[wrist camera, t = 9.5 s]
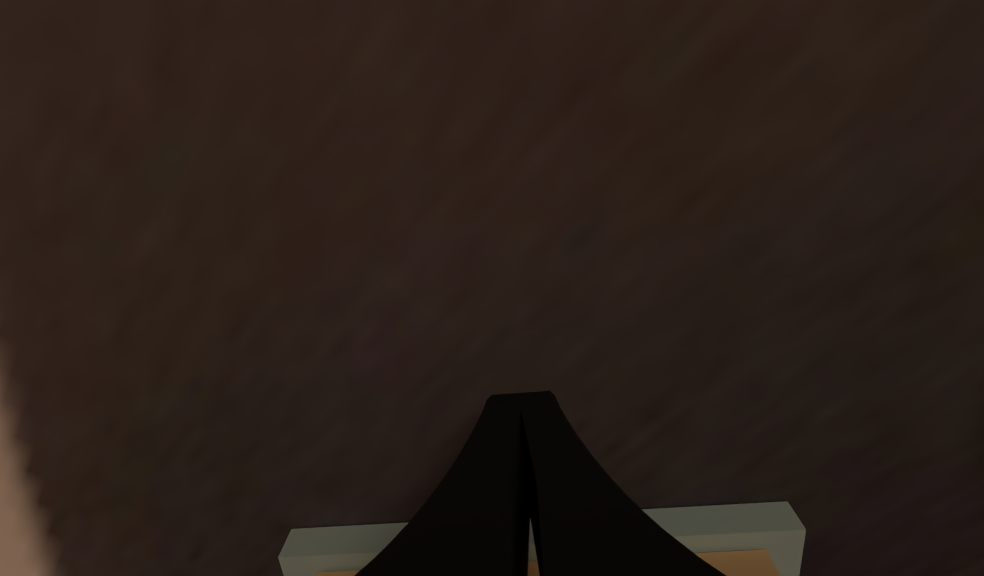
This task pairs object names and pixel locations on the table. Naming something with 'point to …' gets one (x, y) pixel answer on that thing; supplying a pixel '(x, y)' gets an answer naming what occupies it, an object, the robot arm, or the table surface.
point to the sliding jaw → (744, 570)
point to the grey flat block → (689, 525)
